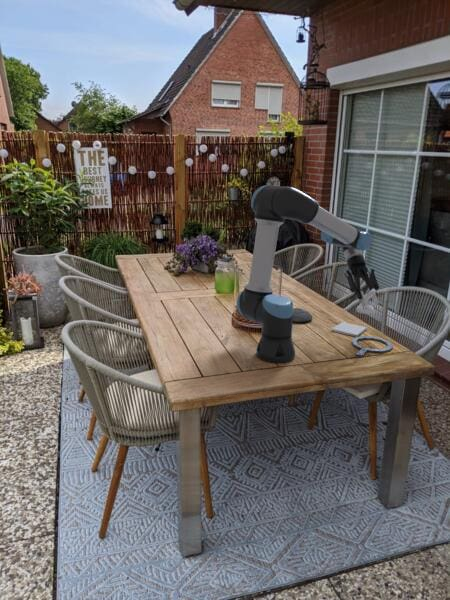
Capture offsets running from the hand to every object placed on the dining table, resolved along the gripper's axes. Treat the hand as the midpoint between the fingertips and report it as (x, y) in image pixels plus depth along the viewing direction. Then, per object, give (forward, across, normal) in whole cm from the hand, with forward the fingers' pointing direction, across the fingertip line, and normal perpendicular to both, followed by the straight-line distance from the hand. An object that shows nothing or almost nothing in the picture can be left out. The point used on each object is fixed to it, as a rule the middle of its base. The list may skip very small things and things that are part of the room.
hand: (370, 305), depth 187 cm
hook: (0, 0, -5) cm, 5 cm away
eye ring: (+16, +4, -6) cm, 18 cm away
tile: (+2, +1, -20) cm, 20 cm away
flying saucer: (-11, +18, -35) cm, 41 cm away
